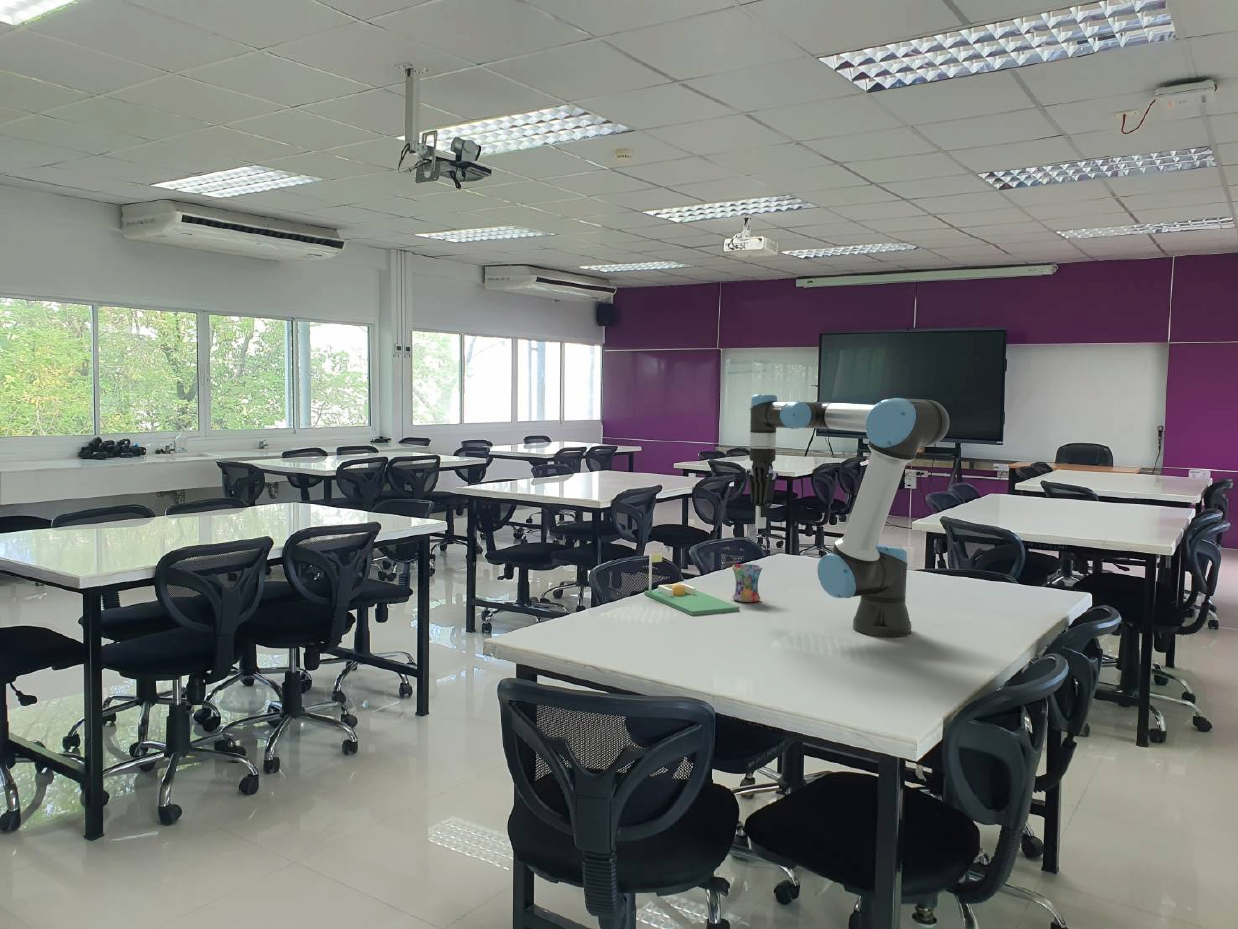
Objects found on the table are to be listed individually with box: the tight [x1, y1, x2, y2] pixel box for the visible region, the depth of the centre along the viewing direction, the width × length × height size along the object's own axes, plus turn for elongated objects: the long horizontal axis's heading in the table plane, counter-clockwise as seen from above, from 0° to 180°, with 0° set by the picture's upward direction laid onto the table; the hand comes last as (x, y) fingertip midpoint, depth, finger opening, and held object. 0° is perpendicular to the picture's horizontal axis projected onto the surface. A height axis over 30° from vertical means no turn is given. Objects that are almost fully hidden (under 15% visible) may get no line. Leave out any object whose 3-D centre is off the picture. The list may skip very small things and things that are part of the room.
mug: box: [731, 563, 763, 603], centre depth 269 cm, size 12×9×11 cm
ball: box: [671, 583, 685, 596], centre depth 269 cm, size 4×4×4 cm
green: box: [644, 552, 741, 616], centre depth 263 cm, size 30×16×13 cm, turn 25°
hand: (760, 528), depth 254 cm, fingers closed
